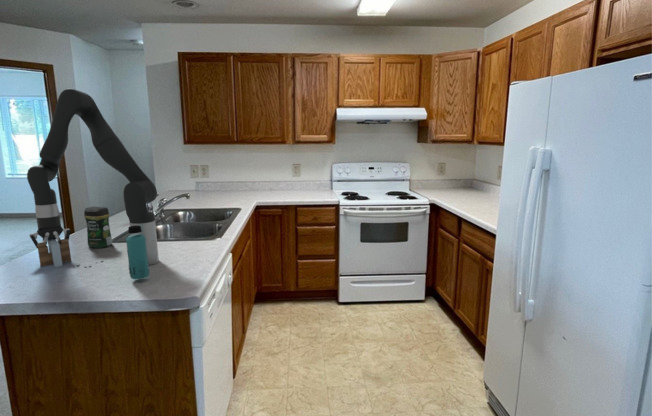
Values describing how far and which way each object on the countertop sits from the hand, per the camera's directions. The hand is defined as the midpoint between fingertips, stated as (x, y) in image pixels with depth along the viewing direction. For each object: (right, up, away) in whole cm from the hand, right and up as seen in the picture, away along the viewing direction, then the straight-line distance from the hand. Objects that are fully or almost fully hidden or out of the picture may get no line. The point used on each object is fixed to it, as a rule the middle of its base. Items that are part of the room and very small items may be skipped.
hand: (53, 255), depth 153 cm
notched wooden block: (+2, -3, -2) cm, 4 cm away
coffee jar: (+7, +2, +21) cm, 22 cm away
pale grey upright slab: (+3, -3, -2) cm, 4 cm away
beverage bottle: (+45, -7, -19) cm, 49 cm away
